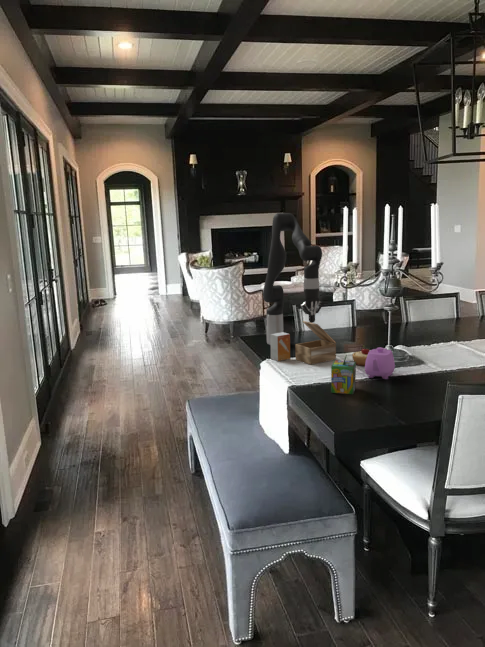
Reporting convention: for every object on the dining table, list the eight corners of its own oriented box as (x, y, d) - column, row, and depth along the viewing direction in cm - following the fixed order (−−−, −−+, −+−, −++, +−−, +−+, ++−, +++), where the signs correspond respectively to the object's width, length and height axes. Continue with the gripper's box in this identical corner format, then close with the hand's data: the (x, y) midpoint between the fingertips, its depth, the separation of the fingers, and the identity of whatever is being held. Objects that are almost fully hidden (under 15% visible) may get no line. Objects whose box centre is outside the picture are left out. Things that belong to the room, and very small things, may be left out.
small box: (278, 361, 263) (277, 336, 261) (270, 359, 268) (269, 334, 266) (290, 358, 268) (290, 333, 265) (283, 356, 273) (282, 331, 270)
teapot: (370, 368, 245) (371, 342, 242) (398, 371, 239) (398, 343, 237) (359, 380, 227) (359, 352, 225) (389, 383, 222) (389, 354, 219)
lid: (302, 321, 264) (303, 320, 264) (320, 339, 271) (321, 338, 272) (316, 325, 254) (317, 323, 254) (335, 343, 262) (336, 342, 262)
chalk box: (333, 386, 221) (333, 352, 218) (356, 387, 218) (356, 353, 216) (330, 393, 213) (330, 357, 210) (353, 394, 210) (353, 358, 207)
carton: (295, 359, 265) (295, 344, 264) (320, 354, 273) (320, 339, 272) (310, 365, 255) (310, 348, 253) (336, 359, 263) (336, 343, 261)
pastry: (360, 369, 247) (359, 350, 245) (348, 362, 258) (348, 344, 256) (383, 365, 250) (382, 347, 248) (370, 359, 261) (370, 341, 259)
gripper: (317, 285, 263) (317, 319, 266) (295, 287, 256) (296, 323, 259) (327, 286, 256) (327, 321, 259) (305, 289, 250) (305, 325, 253)
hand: (311, 322), depth 259 cm, fingers closed
